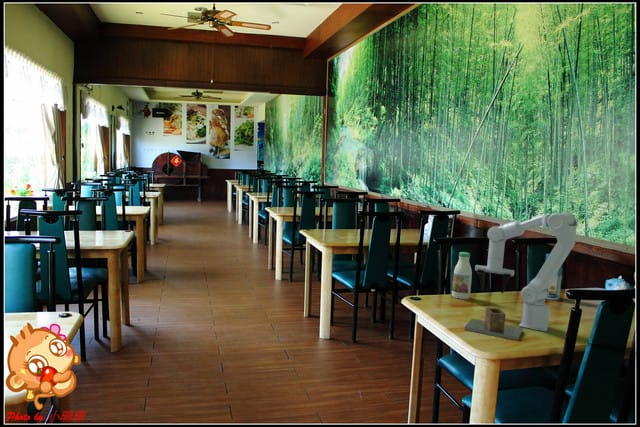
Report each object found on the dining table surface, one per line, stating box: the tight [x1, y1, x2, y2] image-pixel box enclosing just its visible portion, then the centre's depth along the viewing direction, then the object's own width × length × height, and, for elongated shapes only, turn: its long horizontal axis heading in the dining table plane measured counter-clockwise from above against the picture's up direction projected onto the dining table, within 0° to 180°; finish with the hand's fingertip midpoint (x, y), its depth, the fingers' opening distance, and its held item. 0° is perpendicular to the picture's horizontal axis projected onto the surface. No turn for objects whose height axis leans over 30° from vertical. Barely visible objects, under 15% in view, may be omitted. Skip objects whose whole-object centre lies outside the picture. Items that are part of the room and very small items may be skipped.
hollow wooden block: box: [484, 307, 507, 331], centre depth 187 cm, size 5×7×6 cm
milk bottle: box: [451, 251, 473, 300], centre depth 232 cm, size 8×8×20 cm
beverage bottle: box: [545, 253, 563, 301], centre depth 242 cm, size 8×8×20 cm
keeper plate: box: [464, 318, 524, 342], centre depth 188 cm, size 18×12×5 cm, turn 62°
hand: (492, 291), depth 208 cm, fingers open, 7 cm apart
